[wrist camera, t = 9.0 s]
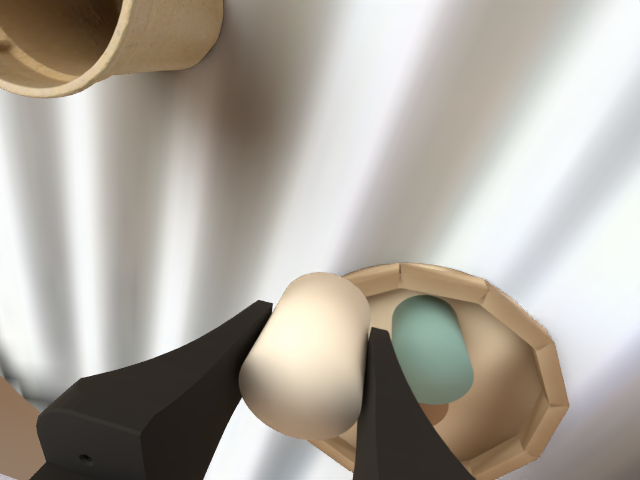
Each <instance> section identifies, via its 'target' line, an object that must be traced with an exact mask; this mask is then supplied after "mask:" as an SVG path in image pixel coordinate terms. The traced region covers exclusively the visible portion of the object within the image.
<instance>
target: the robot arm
mask: <svg viewBox="0 0 640 480" xmlns="http://www.w3.org/2000/svg"><path fill="white" fill-rule="evenodd" d="M272 306H273V303H269V302H265V301H261V300H258V301H256V302H255V303H253V304H252V305H250V306H249V307H247V308H246V309H245V310H243V311H242V312H240V313H239V314H237V315H236V316H234V317H233V318H231V319H230V320H228V321H227V322H225V323H224V324H222V325H221V326H219V327H217V328H216V329H214V330H212V331H211V332H209V333H207V334H205V335H204V336H202V337H200V338H198V339H196V340H194V341H192V342H190V343H188V344H186V345H184V346H182V347H180V348H178V349H175V350H173V351H170V352H168V353H165V354H163V355H160V356H158V357H155V358H152V359H150V360H147V361H144V362H141V363H138V364H135V365H131V366H128V367H125V368H121V369H118V370H114V371H110V372H106V373H101V374H97V375H93V376H89V377H84V378H81V379H79V380H78V381H77V382H76V383H74V384H73V385H72V386H71V387H70V388H69V389H67V390H66V391H65V392H64V393H63V394H62V395H61V396H60V397H58V398H57V399H56V400H55V401H54V402H53V403H52V404H51V405H50V406H48V407H47V408H46V409H45V410H44V411H43V412H42V413H41V414H40V415H39V416H38V420H37V425H36V427H37V434H38V437H39V440H40V443H41V446H42V449H43V453H44V456H45V459H46V463H45V464H44V465H43V466H42V467H41V468H40V469H39V470H38V471H37V472H36V473H35V474H34V476H32V477H31V479H30V480H203V479H204V476H205V474H206V472H207V469H208V467H209V465H210V462H211V460H212V458H213V455H214V453H215V451H216V448H217V446H218V444H219V442H220V439H221V437H222V435H223V433H224V430H225V428H226V426H227V424H228V422H229V420H230V418H231V416H232V414H233V412H234V410H235V409H236V407H237V405H238V403H239V402H240V400H241V398H242V395H241V392H240V388H239V373H240V369H241V367H242V365H243V363H244V361H245V359H246V358H247V356H248V354H249V352H250V351H251V349H252V347H253V345H254V344H255V342H256V340H257V339H258V337H259V335H260V333H261V332H262V330H263V328H264V326H265V325H266V323H267V321H268V319H269V318H270V316H271V314H272ZM0 480H18V479H15V478H12V477H9V476H6V475H3V474H0ZM353 480H476V479H475V478H474V477H473V476H472V475H471V474H470V473H469V472H468V471H467V469H466V468H465V467H464V466H463V465H462V464H461V462H460V461H459V460H458V459H457V458H456V456H455V455H454V454H453V453H452V451H451V450H450V449H449V447H448V446H447V445H446V443H445V442H444V441H443V439H442V438H441V437H440V435H439V434H438V433H437V431H436V430H435V428H434V427H433V425H432V424H431V422H430V421H429V419H428V418H427V416H426V415H425V413H424V411H423V410H422V408H421V406H420V405H419V403H418V401H417V399H416V397H415V396H414V394H413V392H412V390H411V388H410V386H409V384H408V382H407V380H406V378H405V375H404V373H403V371H402V368H401V366H400V364H399V361H398V359H397V356H396V353H395V351H394V348H393V345H392V341H391V338H390V334H389V332H388V331H387V330H383V329H379V328H375V327H371V331H370V336H369V340H368V349H367V358H366V369H365V378H364V387H363V396H362V406H361V412H360V415H359V417H358V419H357V438H356V456H355V466H354V473H353Z"/></svg>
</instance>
